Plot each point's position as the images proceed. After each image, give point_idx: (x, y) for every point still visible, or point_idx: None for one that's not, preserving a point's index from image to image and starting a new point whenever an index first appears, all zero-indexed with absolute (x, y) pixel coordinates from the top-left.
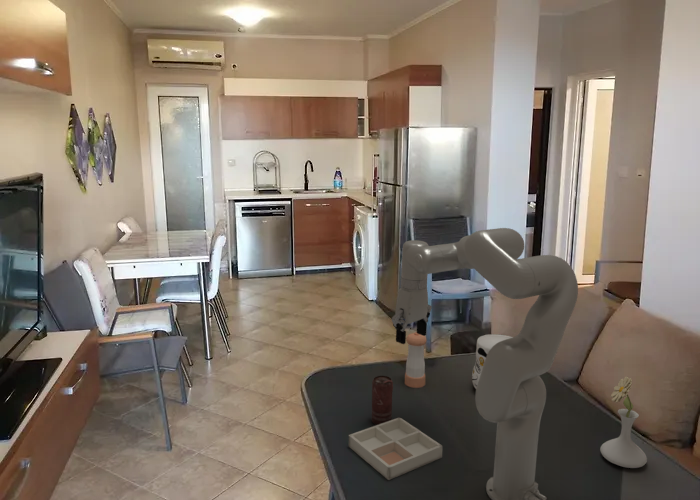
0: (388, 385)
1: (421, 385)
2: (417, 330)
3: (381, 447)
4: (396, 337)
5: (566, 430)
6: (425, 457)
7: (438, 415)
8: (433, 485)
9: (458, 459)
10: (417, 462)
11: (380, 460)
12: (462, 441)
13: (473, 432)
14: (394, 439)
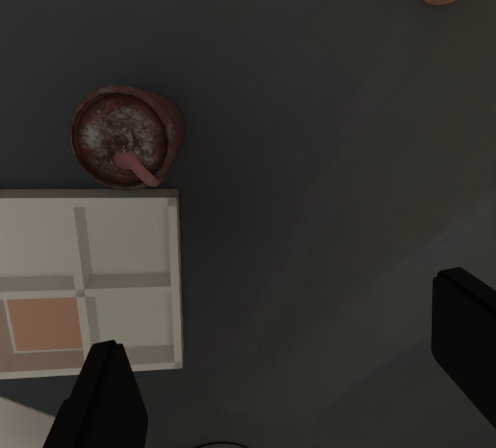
0: (127, 189)
1: (439, 2)
2: (454, 297)
3: (26, 297)
4: (82, 379)
5: None
6: None
7: (326, 195)
8: None
9: (211, 367)
10: None
11: None
12: (276, 321)
13: (330, 306)
14: (82, 289)
